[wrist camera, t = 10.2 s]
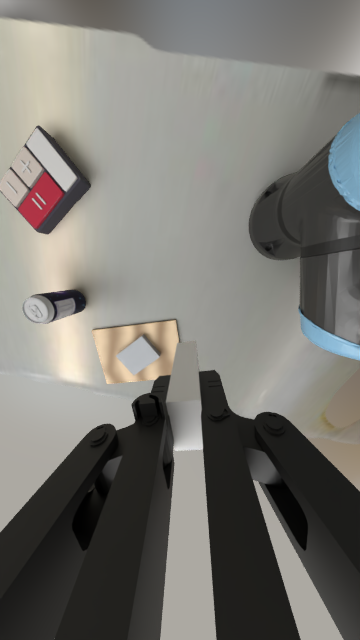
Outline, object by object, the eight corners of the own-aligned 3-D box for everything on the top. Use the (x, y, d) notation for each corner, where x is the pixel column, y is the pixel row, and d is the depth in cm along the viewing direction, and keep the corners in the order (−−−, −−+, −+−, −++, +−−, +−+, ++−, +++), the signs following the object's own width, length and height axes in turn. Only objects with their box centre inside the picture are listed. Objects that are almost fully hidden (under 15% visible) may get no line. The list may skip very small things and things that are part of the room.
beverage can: (80, 285, 42) (38, 290, 30) (92, 306, 43) (55, 318, 31) (61, 294, 43) (13, 302, 31) (73, 315, 44) (31, 329, 32)
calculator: (-8, 186, 34) (33, 119, 30) (14, 194, 38) (53, 137, 34) (34, 232, 36) (78, 176, 32) (51, 236, 40) (92, 186, 36)
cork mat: (175, 319, 43) (175, 320, 42) (184, 375, 47) (184, 376, 46) (93, 329, 45) (91, 330, 44) (108, 382, 49) (107, 384, 48)
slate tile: (141, 336, 42) (115, 356, 43) (159, 357, 43) (133, 375, 45) (143, 333, 43) (118, 352, 45) (161, 353, 45) (135, 371, 46)
